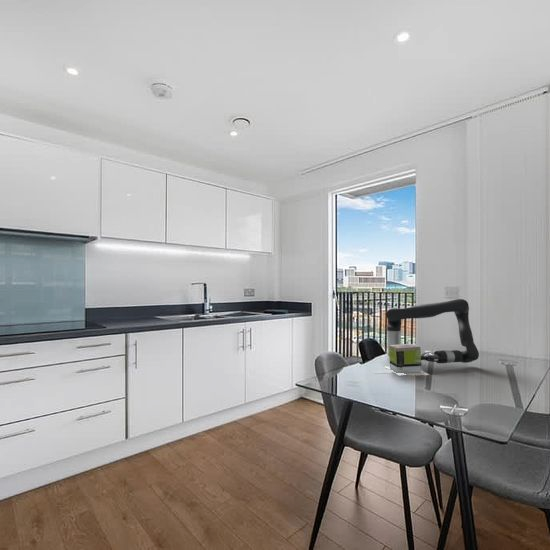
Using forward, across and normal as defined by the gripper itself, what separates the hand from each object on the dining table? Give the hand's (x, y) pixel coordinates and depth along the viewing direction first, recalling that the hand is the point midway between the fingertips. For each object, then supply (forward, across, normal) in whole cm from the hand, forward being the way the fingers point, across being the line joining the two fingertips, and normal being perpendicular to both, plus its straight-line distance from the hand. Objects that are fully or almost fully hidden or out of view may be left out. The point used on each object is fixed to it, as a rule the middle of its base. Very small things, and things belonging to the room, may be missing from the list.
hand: (417, 358), depth 196 cm
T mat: (+13, 0, +7) cm, 15 cm away
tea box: (+8, 0, +7) cm, 11 cm away
